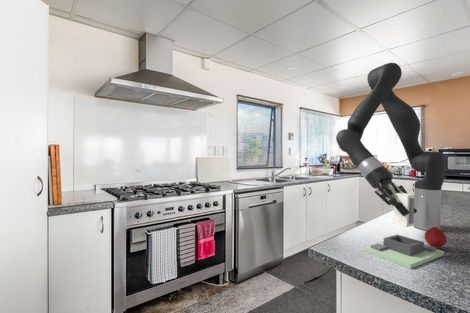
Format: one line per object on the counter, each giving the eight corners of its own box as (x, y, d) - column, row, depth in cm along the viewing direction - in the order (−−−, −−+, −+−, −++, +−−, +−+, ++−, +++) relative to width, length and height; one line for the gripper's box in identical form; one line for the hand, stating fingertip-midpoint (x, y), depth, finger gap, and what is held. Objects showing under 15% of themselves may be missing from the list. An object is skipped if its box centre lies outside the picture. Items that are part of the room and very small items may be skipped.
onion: (450, 252, 80) (451, 228, 80) (430, 251, 81) (431, 227, 81) (439, 246, 86) (440, 223, 86) (420, 244, 87) (421, 222, 87)
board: (397, 240, 90) (397, 229, 90) (444, 255, 78) (444, 242, 78) (363, 250, 81) (363, 238, 81) (410, 268, 68) (410, 253, 68)
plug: (400, 222, 82) (401, 192, 82) (415, 226, 78) (416, 194, 78) (393, 223, 80) (394, 193, 80) (408, 227, 76) (409, 195, 76)
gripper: (369, 165, 82) (408, 209, 72) (393, 165, 89) (432, 205, 78) (354, 179, 87) (388, 222, 76) (378, 178, 94) (413, 217, 83)
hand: (410, 213), depth 77 cm, fingers closed on plug, 4 cm apart
